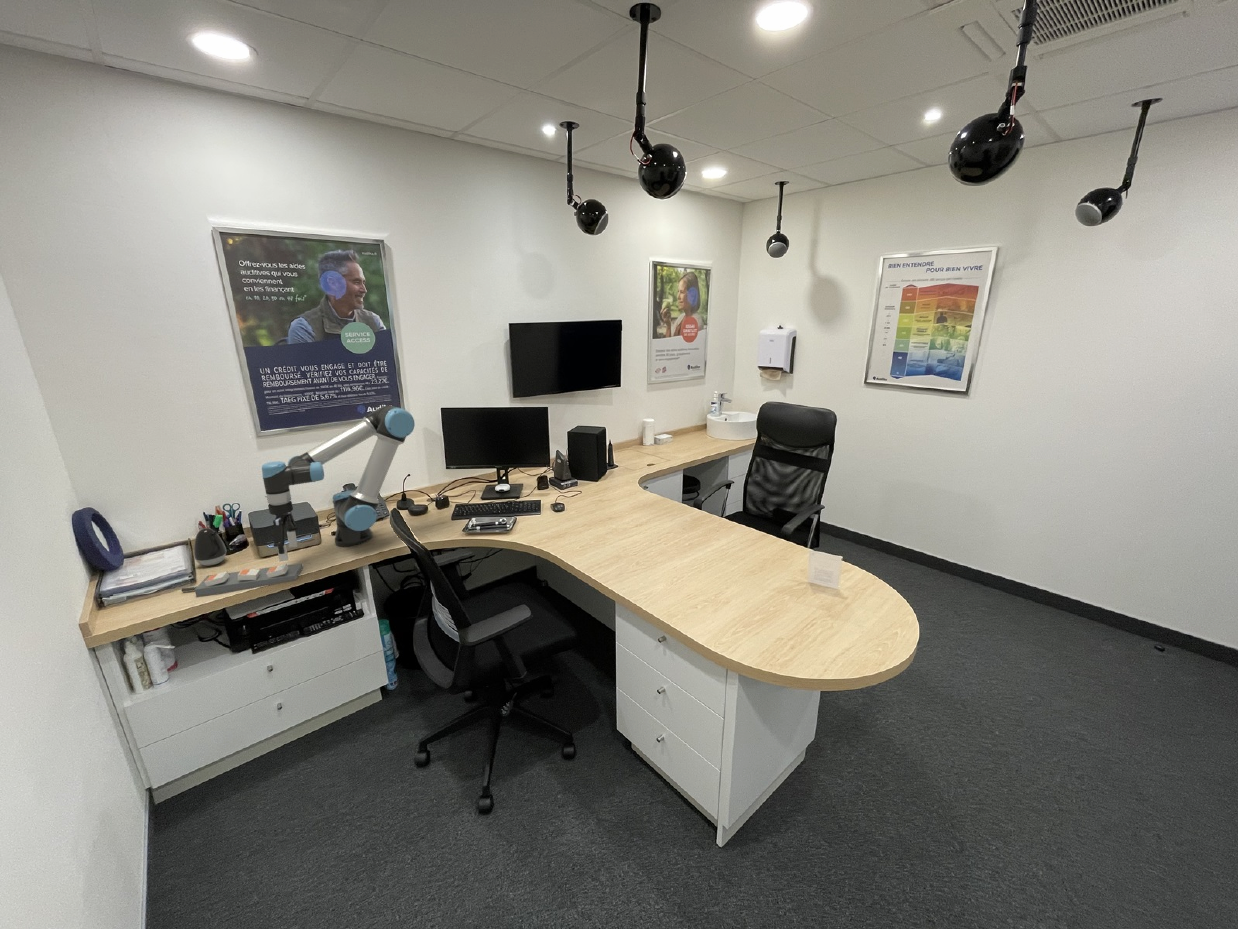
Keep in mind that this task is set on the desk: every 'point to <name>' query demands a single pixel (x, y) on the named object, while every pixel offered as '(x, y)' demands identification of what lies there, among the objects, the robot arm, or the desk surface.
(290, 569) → the power strip
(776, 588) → the desk surface
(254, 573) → the block
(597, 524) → the desk surface
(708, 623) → the desk surface
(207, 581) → the rocker
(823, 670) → the desk surface
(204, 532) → the dark grey rounded dome
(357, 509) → the robot arm
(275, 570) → the rocker
